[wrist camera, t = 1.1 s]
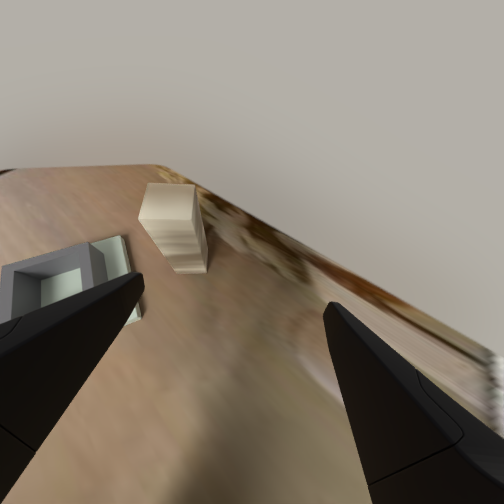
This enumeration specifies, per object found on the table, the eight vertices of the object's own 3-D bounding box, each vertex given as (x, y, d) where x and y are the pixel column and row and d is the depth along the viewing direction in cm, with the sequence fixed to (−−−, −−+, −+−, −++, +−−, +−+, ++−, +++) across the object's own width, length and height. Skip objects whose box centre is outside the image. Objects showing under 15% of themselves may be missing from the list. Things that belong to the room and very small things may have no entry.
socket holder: (141, 318, 21) (123, 312, 18) (12, 374, 18) (-45, 381, 14) (124, 239, 26) (106, 222, 22) (17, 271, 22) (-25, 256, 18)
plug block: (206, 273, 25) (191, 219, 14) (176, 273, 24) (138, 219, 14) (207, 248, 27) (194, 184, 16) (180, 248, 26) (148, 182, 16)
